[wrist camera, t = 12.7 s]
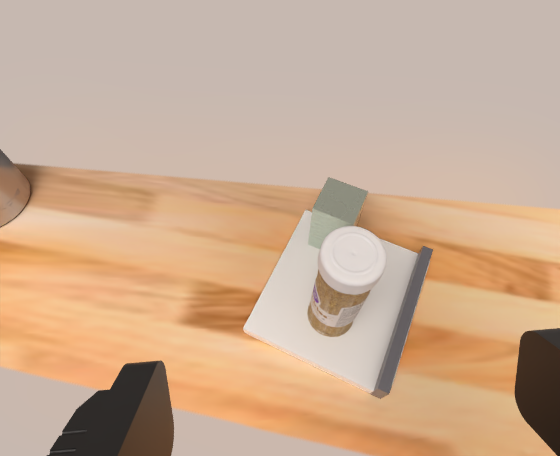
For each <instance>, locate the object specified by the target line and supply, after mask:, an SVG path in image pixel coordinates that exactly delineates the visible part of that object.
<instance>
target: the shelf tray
mask: <svg viewBox="0 0 560 456" xmlns="http://www.w3.org/2000/svg"><path fill="white" fill-rule="evenodd" d="M311 217H312V212H310V211H308V210H305V212H304V214H303V216H302V217H301V219H300V221H299V223H298V225H297V227H296V229H295V231H294V233H293V235H292V236H291V238H290V240H289V242H288V244H287V246H286V248H285V250H284V252H283V254H282V256H281V257H280V259H279V261H278V263H277V265H276V267H275V269H274V271H273V273H272V275H271V276H270V278H269V280H268V282H267V284H266V286H265V288H264V290H263V292H262V294H261V295H260V297H259V299H258V301H257V303H256V305H255V307H254V309H253V311H252V313H251V315H250V316H249V318H248V320H247V322H246V324H245V326H244V328H243V330H244V333H246V334H248V335H250V336H252V337H254V338H256V339H258V340H260V341H263V342H265V343H267V344H269V345H271V346H273V347H275V348H277V349H279V350H281V351H283V352H285V353H287V354H289V355H291V356H293V357H296V358H298V359H300V360H302V361H304V362H306V363H308V364H310V365H312V366H314V367H316V368H318V369H320V370H322V371H324V372H326V373H328V374H331V375H333V376H335V377H337V378H339V379H341V380H343V381H345V382H347V383H349V384H351V385H353V386H355V387H357V388H359V389H361V390H364V391H366V392H368V393H370V394H372V395H374V396H376V397H378V398H380V399H381V398H383V397H385V396H386V395H388V394H389V393H390V390H391V386H392V384H393V381H394V378H395V375H396V372H397V368H398V365H399V362H400V358H401V355H402V352H403V348H404V345H405V342H406V339H407V335H408V332H409V329H410V325H411V322H412V319H413V315H414V312H415V309H416V306H417V302H418V299H419V296H420V292H421V289H422V286H423V282H424V279H425V276H426V273H427V269H428V266H429V263H430V258H431V255H432V251H433V250H432V249H430V248H427V247H425V246H423V247H422V249H421V250H420V251H419V253H416V252H413V251H410V250H408V249H405V248H403V247H400V246H398V245H395V244H393V243H390V242H387V241H385V240H382V239H380V238H379V239H380V241H381V242H382V244H383V245H384V248H385V250H386V255H387V263H386V268H385V270H384V272H383V274H382V276H381V278H380V280H379V281H378V283H377V284H376V285H375V286H374V287H373V288H372V289H371V290H370V293H369V295H368V297H367V299H366V301H365V302H364V304H363V306H362V308H361V309H360V311H359V313H358V314H357V316H356V318H355V319H354V320H353V324H352V326H351V328H350V329H349V330H348V331H347V332H346V333H345V334H343V335H341V336H338V337H328V336H324V335H322V334H320V333H318V332H317V331H316V330H315V329H314V328H313V327H312V326H311V324H310V322H309V320H308V315H307V313H308V306H309V304H310V301H311V296H312V292H313V288H314V283H315V279H316V277H317V274H318V269H319V268H318V256H319V251H320V249H318V248H315V247H313V246H310V245H308V240H309V232H310V224H311Z"/></svg>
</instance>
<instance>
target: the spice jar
mask: <svg viewBox="0 0 560 456" xmlns="http://www.w3.org/2000/svg"><path fill="white" fill-rule="evenodd" d="M386 263H387V255H386V250H385V248H384V245H383V244H382V242H381V241H380V239H379V238H378V237H377V236H376V235H374V234H373V233H372V232H370V231H368V230H366V229H364V228H361V227H357V226H344V227H340V228H337V229H335V230H333V231H332V232H331V233H329V234H328V235H327V236H326V237H325V239H324V240H323V242H322V245H321V248H320V251H319V256H318V268H319V269H318V274H317V277H316V279H315V283H314V288H313V292H312V296H311V301H310V304H309V306H308V313H307V315H308V320H309V322H310V324H311V326H312V327H313V328H314V329H315V330H316V331H317V332H318V333H320V334H322V335H324V336H328V337H338V336H341V335H343V334H345V333H346V332H347V331H348V330H349V329H350V328H351V326H352V324H353V320H354V319H355V318H356V316H357V314H358V313H359V311H360V309H361V308H362V306H363V304H364V302H365V301H366V299H367V297H368V295H369V293H370V290H371V289H372V288H373V287H374V286H375V285H376V284H377V283H378V281H379V280H380V278H381V276H382V274H383V272H384V270H385V268H386Z"/></svg>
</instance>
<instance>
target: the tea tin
mask: <svg viewBox="0 0 560 456" xmlns="http://www.w3.org/2000/svg"><path fill="white" fill-rule="evenodd" d="M367 194H368V191H365V190H362V189H359V188H357V187H354V186H351V185H348V184H346V183H343V182H340V181H338V180H335V179H332V178H328V180H327V181H326V184H325V185H324V187H323V189H322V191H321V193H320V195H319V197H318V199H317V201H316V203H315V205H314V207H313V209H312V217H311V224H310V232H309V240H308V245H310V246H313V247H315V248H318V249H320V248H321V245H322V242H323V240H324V239H325V237H326V236H327V235H328V234H329V233H331V232H332V231H333V230H335V229H337V228H340V227H344V226H357V224H358V221H359V218H360V215H361V212H362V209H363V206H364V203H365V200H366V197H367Z"/></svg>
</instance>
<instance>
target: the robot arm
mask: <svg viewBox="0 0 560 456" xmlns="http://www.w3.org/2000/svg"><path fill="white" fill-rule="evenodd" d="M29 196H30V184H29V181H28V180H27V178H26V177H25V176H24V175H23V174H22V173H21V171H20V170H19V169H18V168H17V167H16V166H15V165H14V164H13V163H12V162H11V161H10V160H9V159H8V157H7V156H6V155H5V154H4V153H3V152H2V151H1V150H0V226H2V225H4V224H6V223H7V222H9V221H11V220H12V219H13V218H14V217H16V216H17V215H18V214H19V213H20V212H21V210H22V209H23V208H24V207H25V205H26V203H27V201H28V199H29ZM515 399H516V403H517V406H518V409H519V411H520V413H521V415H522V416H523V418H524V419H525V421H526V422H527V423H528V424H529V425H530V426H531V427H532V429H533V430H534V431H535V432H536V433H537V434H538V435H539V436H540V437H541V438H542V439H543V440H544V442H545V443H546V444H547V445H548V446H549V447H550V448H551V449H552V450H553V451H554V452H555V453H556V455H557V456H560V328H557V329H545V330H533V331H527V332H525V333H524V334H523V335H522V337H521V340H520V347H519V356H518V365H517V374H516V383H515ZM62 432H63V433H62V436H59V437H58V439H57V440H56V442H55V443H54V445H53V447H52V448H51V449H50V455H47V456H171V452H172V448H173V439H174V422H173V415H172V408H171V402H170V395H169V389H168V382H167V376H166V369H165V365H164V363H163V362H162V361H151V362H139V363H127V364H125V365H124V366H123V368H122V369H121V371H120V373H119V375H118V376H117V378H116V380H115V382H114V383H113V385H112V387H111V389H110V390H101V391H97V392H96V393H95V394H94V395H93V396H92V397H91V398H89V399H88V400H87V401H86V402H85V403H84V404H82V405H81V406H80V407H79V408H78V409H76V411H75V413H74V414H73V416H72V417H71V419H70V420H69V422H68V423H67V425H66V426H65V428H64V429H63V431H62Z"/></svg>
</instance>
